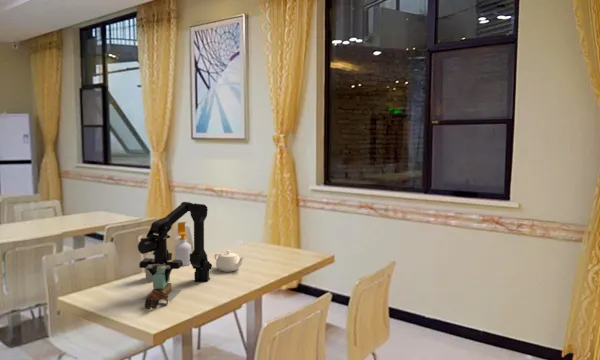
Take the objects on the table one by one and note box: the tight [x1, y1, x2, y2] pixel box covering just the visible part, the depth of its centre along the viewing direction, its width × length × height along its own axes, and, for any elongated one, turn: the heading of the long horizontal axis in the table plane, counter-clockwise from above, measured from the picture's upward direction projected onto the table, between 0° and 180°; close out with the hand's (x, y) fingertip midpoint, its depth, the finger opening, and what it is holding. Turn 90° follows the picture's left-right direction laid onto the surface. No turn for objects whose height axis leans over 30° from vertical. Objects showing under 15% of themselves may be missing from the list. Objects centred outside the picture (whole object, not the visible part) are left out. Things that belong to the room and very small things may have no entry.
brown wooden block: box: [151, 287, 167, 299], centre depth 221 cm, size 5×5×4 cm
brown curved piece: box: [143, 289, 169, 310], centre depth 210 cm, size 12×10×8 cm
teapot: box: [214, 249, 245, 273], centre depth 264 cm, size 22×14×11 cm, turn 55°
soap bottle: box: [174, 221, 192, 267], centre depth 274 cm, size 9×9×25 cm
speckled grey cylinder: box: [144, 253, 165, 282], centre depth 248 cm, size 10×10×12 cm
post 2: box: [165, 282, 173, 295], centre depth 227 cm, size 5×5×4 cm
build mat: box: [141, 289, 182, 302], centre depth 224 cm, size 14×14×1 cm
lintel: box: [152, 267, 171, 290], centre depth 223 cm, size 11×4×6 cm, turn 179°
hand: (161, 281), depth 223 cm, fingers closed on lintel, 5 cm apart
